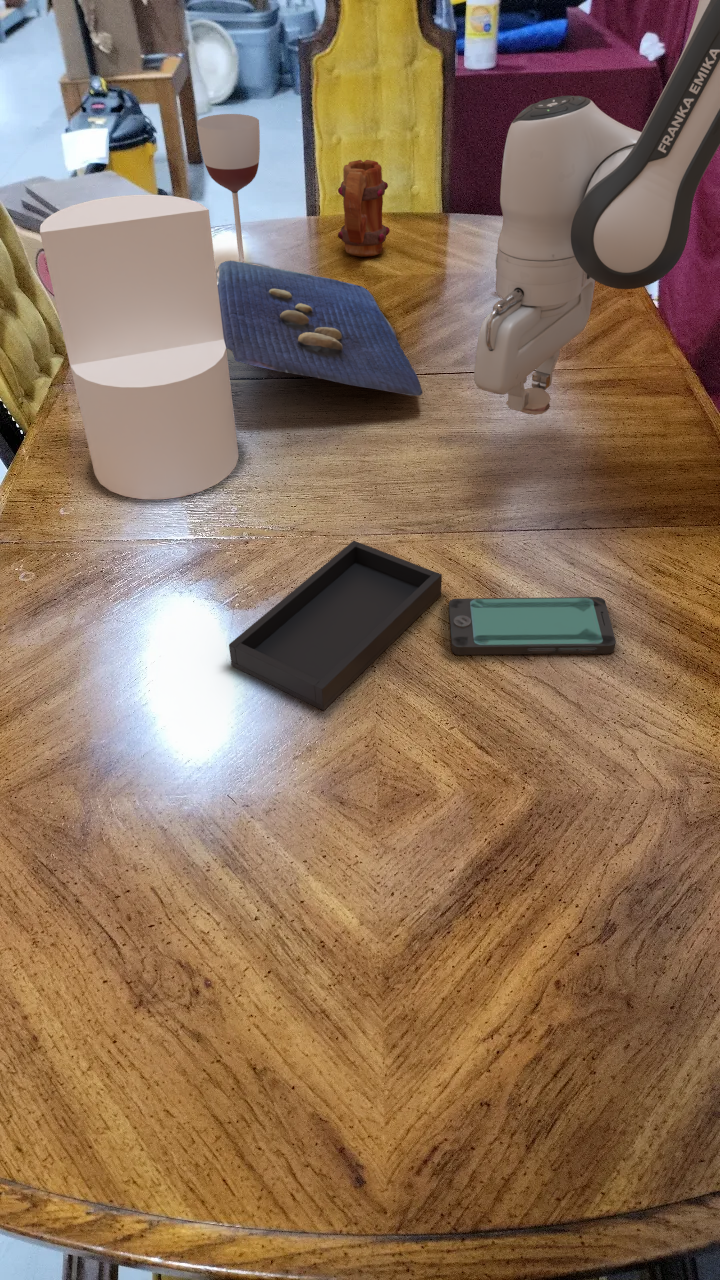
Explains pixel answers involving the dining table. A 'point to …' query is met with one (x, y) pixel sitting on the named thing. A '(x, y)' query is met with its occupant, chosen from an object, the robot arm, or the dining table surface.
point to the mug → (363, 208)
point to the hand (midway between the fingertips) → (529, 397)
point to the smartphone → (530, 626)
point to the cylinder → (145, 341)
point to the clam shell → (536, 401)
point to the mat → (311, 328)
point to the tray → (335, 623)
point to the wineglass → (231, 156)
